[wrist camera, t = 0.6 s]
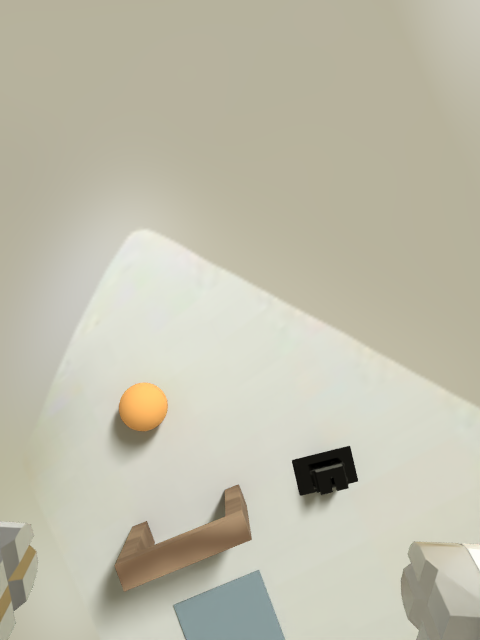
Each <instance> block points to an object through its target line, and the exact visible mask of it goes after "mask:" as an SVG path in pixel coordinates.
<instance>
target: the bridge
mask: <svg viewBox="0 0 480 640" xmlns="http://www.w3.org/2000/svg"><path fill="white" fill-rule="evenodd" d="M250 540H252V538H251V531H250V525H249V518H248V511H247V505H246V502H245V500H244V497H243V494H242V492H241V489H240V487H239V485H236V486H233V487H231V488H228V489H226V490H225V517H223V518H220V519H218V520H215V521H213V522H210V523H208V524H205V525H203V526H200V527H198V528H196V529H193V530H191V531H188V532H186V533H183V534H181V535H178V536H176V537H173V538H171V539H168V540H166V541H163V542H161V543H158V544H156V545H154V543H155V542H154V539H153V536H152V534H151V531H150V528H149V526H148V523H147V521H146V522H143V523H141V524H138V525H136V526H133V527H132V529H131V531H130V533H129V535H128V538H127V540H126V542H125V544H124V546H123V548H122V551H121V553H120V555H119V557H118V559H117V561H116V563H115V569H116V571H117V574H118V577H119V579H120V582H121V585H122V587H123V590H124V591H127V590H129V589H132V588H134V587H137V586H139V585H141V584H144V583H146V582H149V581H151V580H154V579H156V578H159V577H161V576H164V575H166V574H168V573H171V572H173V571H176V570H178V569H181V568H183V567H186V566H188V565H191V564H193V563H196V562H198V561H200V560H203V559H205V558H208V557H210V556H213V555H215V554H218V553H220V552H223V551H225V550H227V549H230V548H232V547H235V546H237V545H240V544H242V543H245V542H247V541H250Z"/></svg>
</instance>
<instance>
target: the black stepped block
mask: <svg viewBox="0 0 480 640" xmlns="http://www.w3.org/2000/svg"><path fill="white" fill-rule="evenodd" d="M292 464H293V468H294V472H295V477H296V481H297V485H298V490H299V494H300V495H301V496H302V495H306V494H310V493H314V492H317V493H319V492H320V494H321V495H323V494H327V493H331V492H333V491H332V488H334V487H336V490H337V491H339V490H343V489H347V488H348V484H350V483H354V482H357V481H358V478H357V474H356V469H355V465H354V461H353V457H352V452H351V448H350V446H347V447H343V448H339V449H335V450H331V451H327V452H323V453H319V454H315V455H311V456H307V457H303V458H299V459H295V460H292Z"/></svg>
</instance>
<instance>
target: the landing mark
mask: <svg viewBox="0 0 480 640" xmlns="http://www.w3.org/2000/svg"><path fill="white" fill-rule="evenodd" d="M174 608H175V611H176V613H177V616H178V619H179V621H180V624H181V627H182V629H183V632H184V635H185V638H186V640H285V638H284V636H283V633H282V630H281V628H280V625H279V622H278V620H277V617H276V614H275V612H274V609H273V606H272V604H271V601H270V598H269V596H268V593H267V590H266V588H265V585H264V582H263V580H262V577H261V574H260V572H259V570H258V571H255V572H253V573H250V574H248V575H245V576H243V577H241V578H238V579H236V580H233V581H231V582H228V583H226V584H224V585H221V586H219V587H216V588H214V589H211V590H209V591H206V592H204V593H202V594H199V595H197V596H194V597H192V598H189V599H187V600H185V601H182V602H180V603H177V604H175V605H174Z"/></svg>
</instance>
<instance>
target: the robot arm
mask: <svg viewBox="0 0 480 640" xmlns="http://www.w3.org/2000/svg"><path fill="white" fill-rule="evenodd" d="M33 537H34V534H33V530H32V525H31V524H27V523H15V522H2V521H0V640H8V639H9V636H10V634H11V632H12V630H13V628H14V626H15V624H16V621H15V616H14V611H15V610H16V609H17V608H19V606H21V605H22V604H23V603H25V602H26V601H27V599H28V597H29V594H30V592H31V590H32V588H33V585H34V580H35V577H36V573H37V565H38V558H37V552H36V551H35V550H34V549H33V548H32V547H31V546H30V545H29V544H30V542H31V540H32V539H33ZM408 556H409V559H410V562H411V564H409V565H408V566H407V567H406V568H404V569H403V574H402V578H401V595H402V600H403V605H404V609H405V612H406V615H407V618H408V620H409V621H410V622H411V623H412V624H413V625H414V626H415V627H416V628H417V629H418V630H419V633H418V636H417V639H416V640H480V544H458V543H440V542H413V543H412V544H411V545H410V548H409V551H408Z"/></svg>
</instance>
